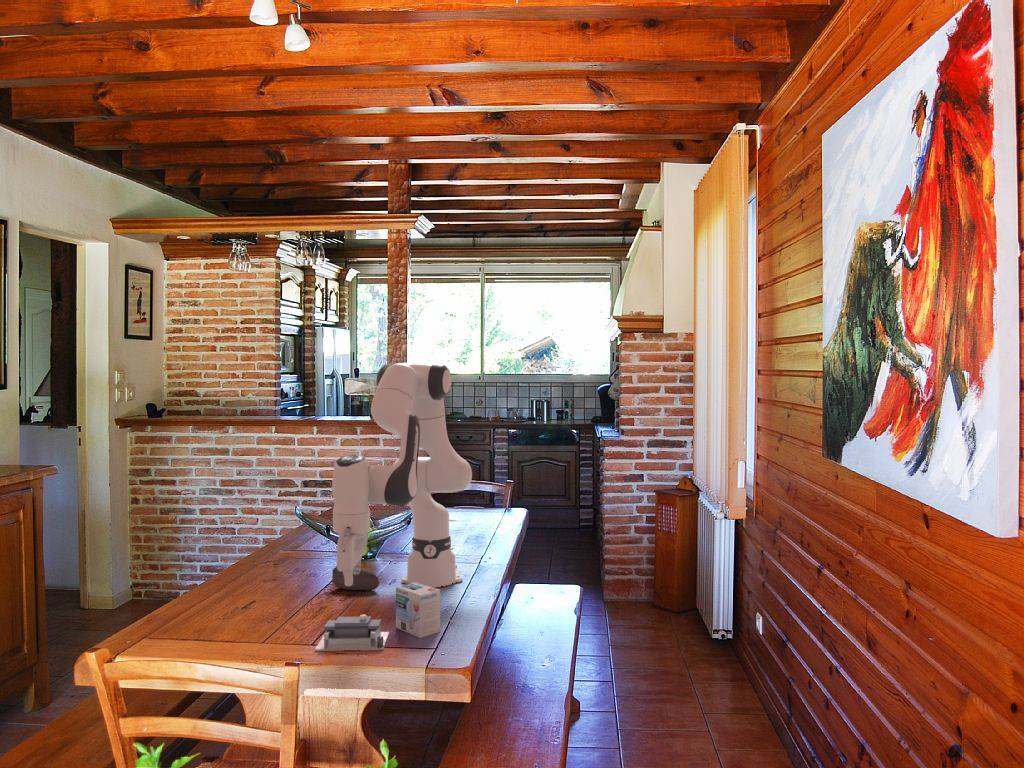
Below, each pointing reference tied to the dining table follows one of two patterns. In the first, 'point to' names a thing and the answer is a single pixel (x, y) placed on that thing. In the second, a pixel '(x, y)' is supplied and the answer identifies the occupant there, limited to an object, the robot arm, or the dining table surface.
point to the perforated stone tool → (356, 580)
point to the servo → (353, 626)
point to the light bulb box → (418, 609)
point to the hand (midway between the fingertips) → (352, 579)
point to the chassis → (353, 641)
